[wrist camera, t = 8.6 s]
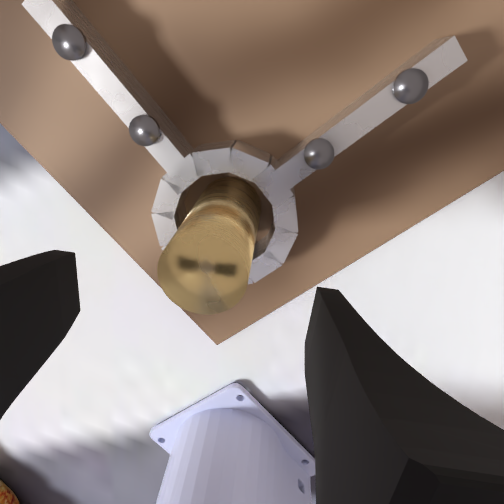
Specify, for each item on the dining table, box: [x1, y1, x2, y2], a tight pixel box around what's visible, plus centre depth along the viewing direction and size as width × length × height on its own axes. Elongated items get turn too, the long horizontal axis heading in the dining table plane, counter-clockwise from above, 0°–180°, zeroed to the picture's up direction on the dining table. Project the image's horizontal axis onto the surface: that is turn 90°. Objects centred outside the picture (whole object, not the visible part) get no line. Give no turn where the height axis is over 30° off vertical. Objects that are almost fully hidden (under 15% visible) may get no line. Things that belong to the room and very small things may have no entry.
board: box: [0, 0, 504, 345], centre depth 17 cm, size 20×20×1 cm
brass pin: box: [157, 177, 261, 315], centre depth 16 cm, size 3×3×7 cm
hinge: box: [22, 0, 468, 284], centre depth 16 cm, size 14×14×2 cm
